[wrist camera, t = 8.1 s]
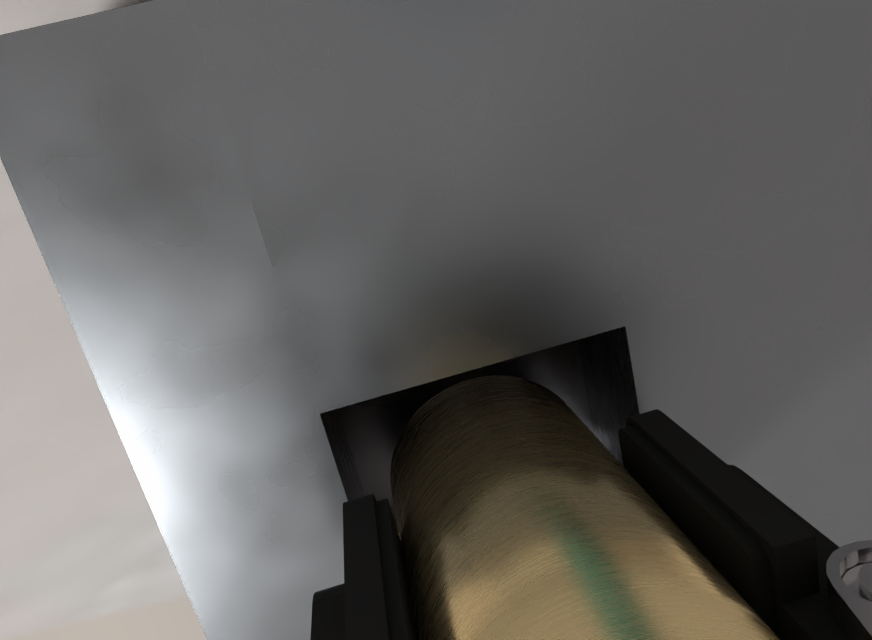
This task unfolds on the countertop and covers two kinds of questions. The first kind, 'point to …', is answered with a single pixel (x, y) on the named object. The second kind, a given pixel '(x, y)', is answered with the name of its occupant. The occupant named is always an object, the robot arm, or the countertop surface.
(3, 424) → the countertop surface
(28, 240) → the countertop surface
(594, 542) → the bushing
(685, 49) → the jig
